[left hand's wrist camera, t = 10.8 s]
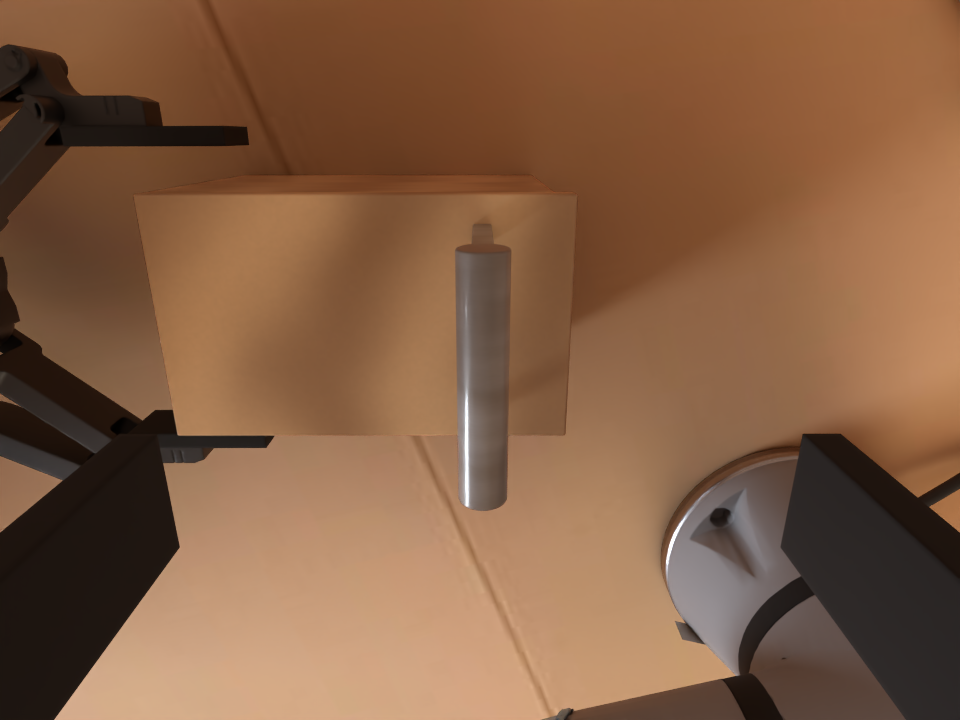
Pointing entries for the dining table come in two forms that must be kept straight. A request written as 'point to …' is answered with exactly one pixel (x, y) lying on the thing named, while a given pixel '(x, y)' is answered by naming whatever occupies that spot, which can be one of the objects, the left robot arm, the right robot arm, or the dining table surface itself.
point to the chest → (368, 183)
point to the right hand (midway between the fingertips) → (258, 294)
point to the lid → (367, 316)
